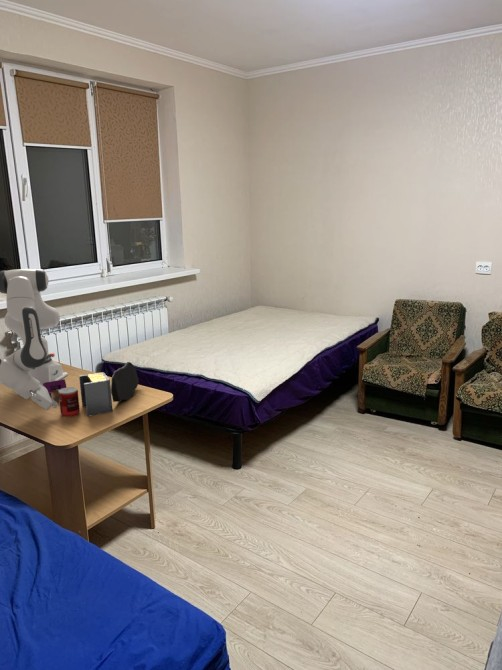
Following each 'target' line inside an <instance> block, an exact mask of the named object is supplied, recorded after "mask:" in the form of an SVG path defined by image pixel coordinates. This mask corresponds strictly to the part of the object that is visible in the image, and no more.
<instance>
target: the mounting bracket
mask: <svg viewBox="0 0 502 670" xmlns="http://www.w3.org/2000/svg"><path fill="white" fill-rule="evenodd" d="M43 386H44V387H45V388H46V389H47V390H48V392H49V395H50V397H51V398H52V397H53V396H52V392H54V391H59V390H60V389H62V388H67V383H66V379H65V378H62V379H61V380H57V381H52V382H46V383H43ZM52 399H53V398H52Z"/></svg>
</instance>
